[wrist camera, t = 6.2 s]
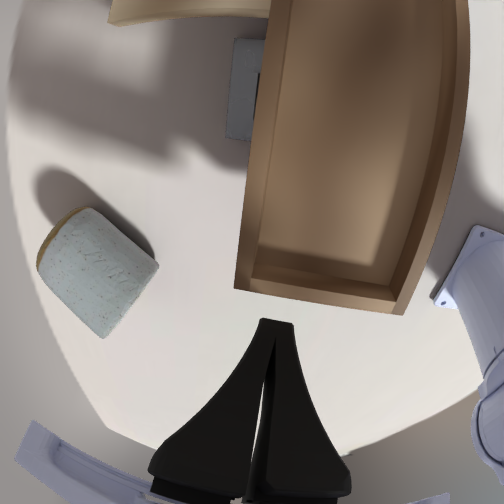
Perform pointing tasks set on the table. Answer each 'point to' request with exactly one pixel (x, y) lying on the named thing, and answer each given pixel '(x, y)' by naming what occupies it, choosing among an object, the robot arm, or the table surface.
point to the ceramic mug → (94, 269)
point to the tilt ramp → (344, 142)
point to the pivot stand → (244, 87)
